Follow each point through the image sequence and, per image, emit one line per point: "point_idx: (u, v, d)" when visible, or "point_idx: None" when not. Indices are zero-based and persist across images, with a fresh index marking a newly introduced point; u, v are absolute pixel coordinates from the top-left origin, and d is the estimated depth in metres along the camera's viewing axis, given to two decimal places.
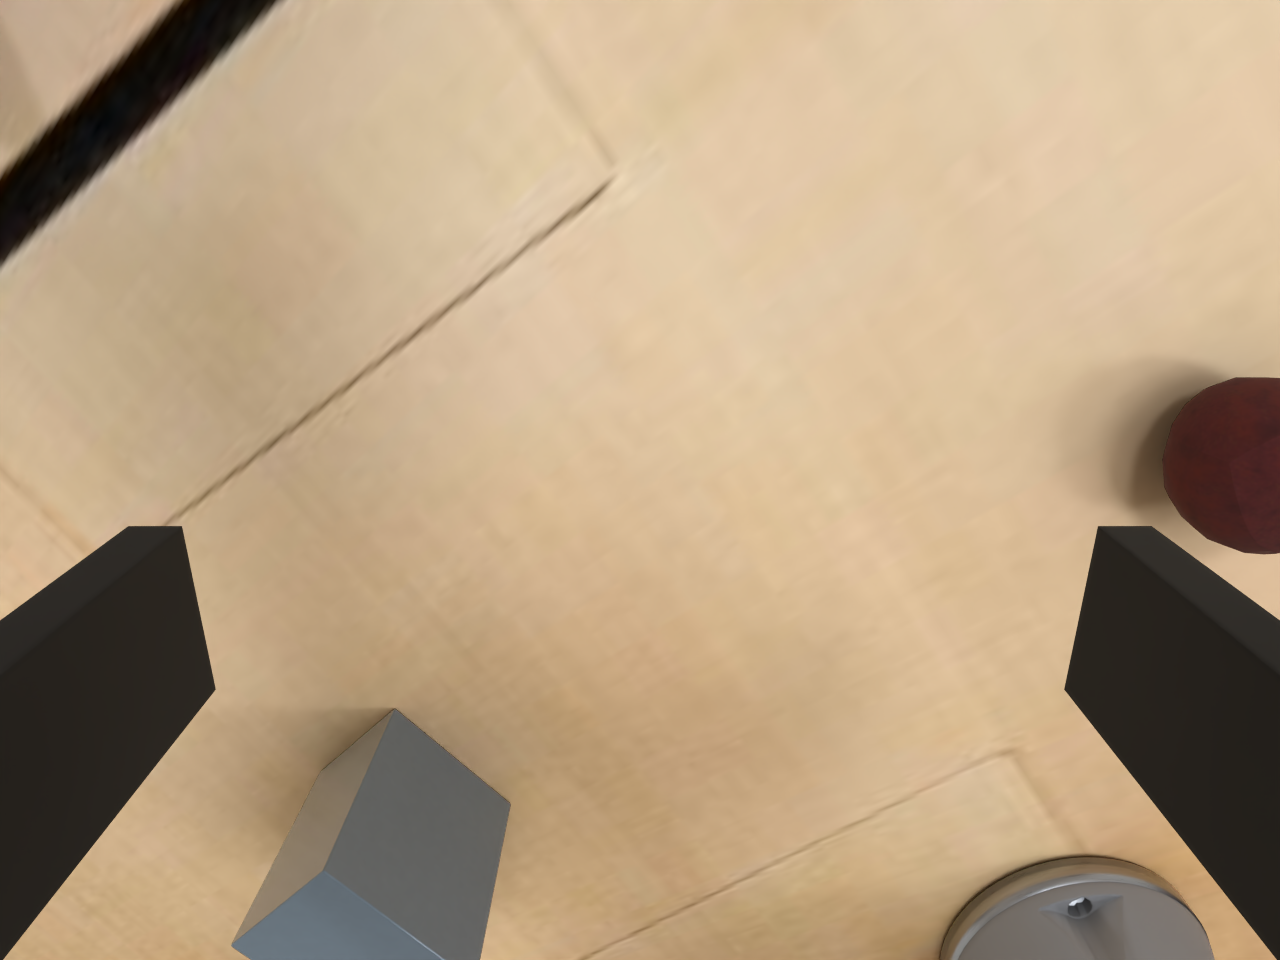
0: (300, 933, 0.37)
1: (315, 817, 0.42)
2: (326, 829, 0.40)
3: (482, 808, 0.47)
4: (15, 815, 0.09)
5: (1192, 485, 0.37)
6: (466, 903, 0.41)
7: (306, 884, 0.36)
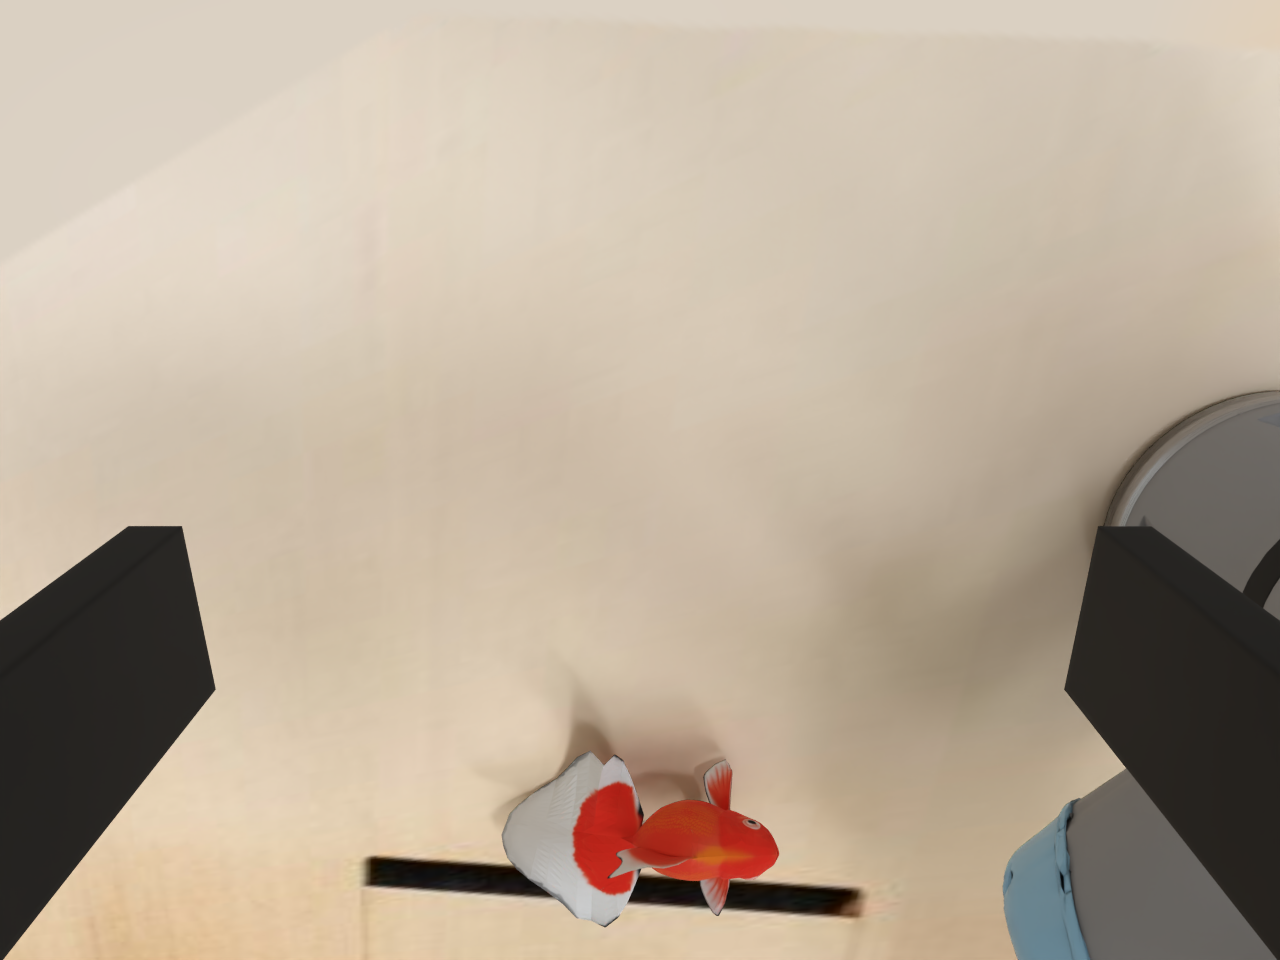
0: None
1: None
2: None
3: None
4: (16, 814, 0.09)
5: None
6: None
7: None
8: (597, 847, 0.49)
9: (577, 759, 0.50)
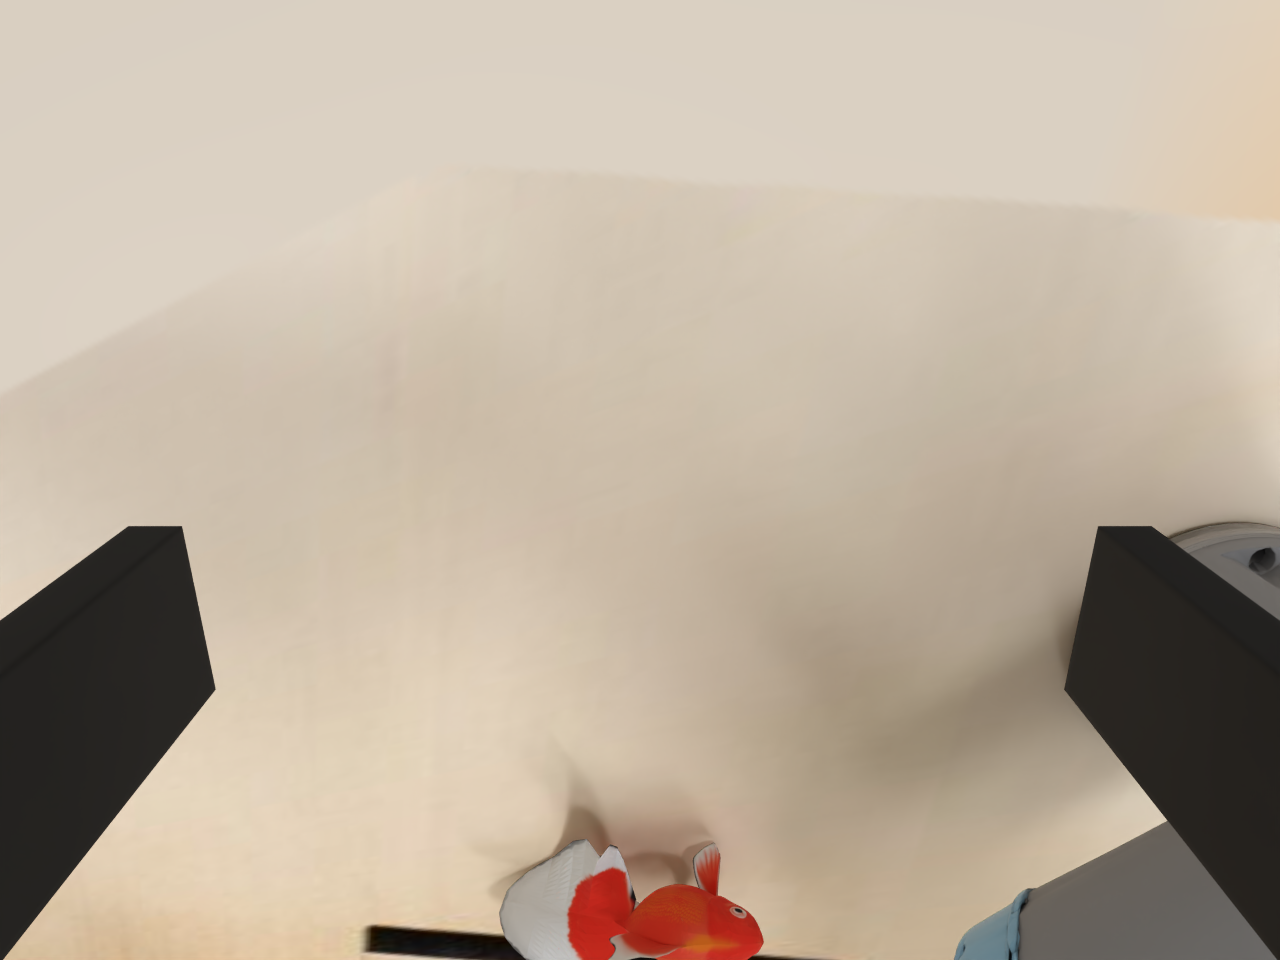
0: None
1: None
2: None
3: None
4: (17, 813, 0.09)
5: None
6: None
7: None
8: (590, 929, 0.52)
9: (573, 843, 0.53)
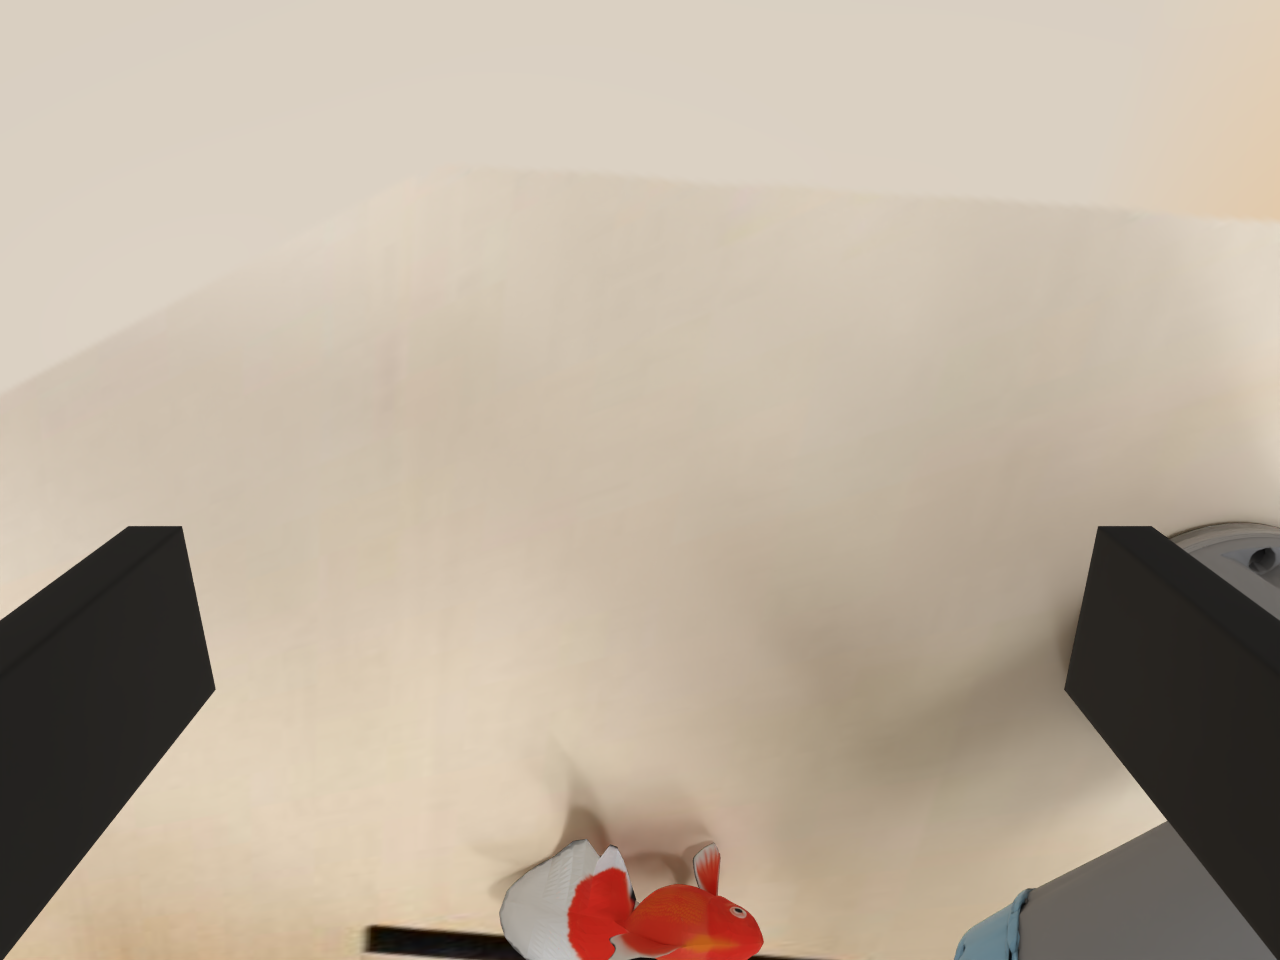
0: None
1: None
2: None
3: None
4: (17, 813, 0.09)
5: None
6: None
7: None
8: (590, 929, 0.52)
9: (573, 843, 0.53)
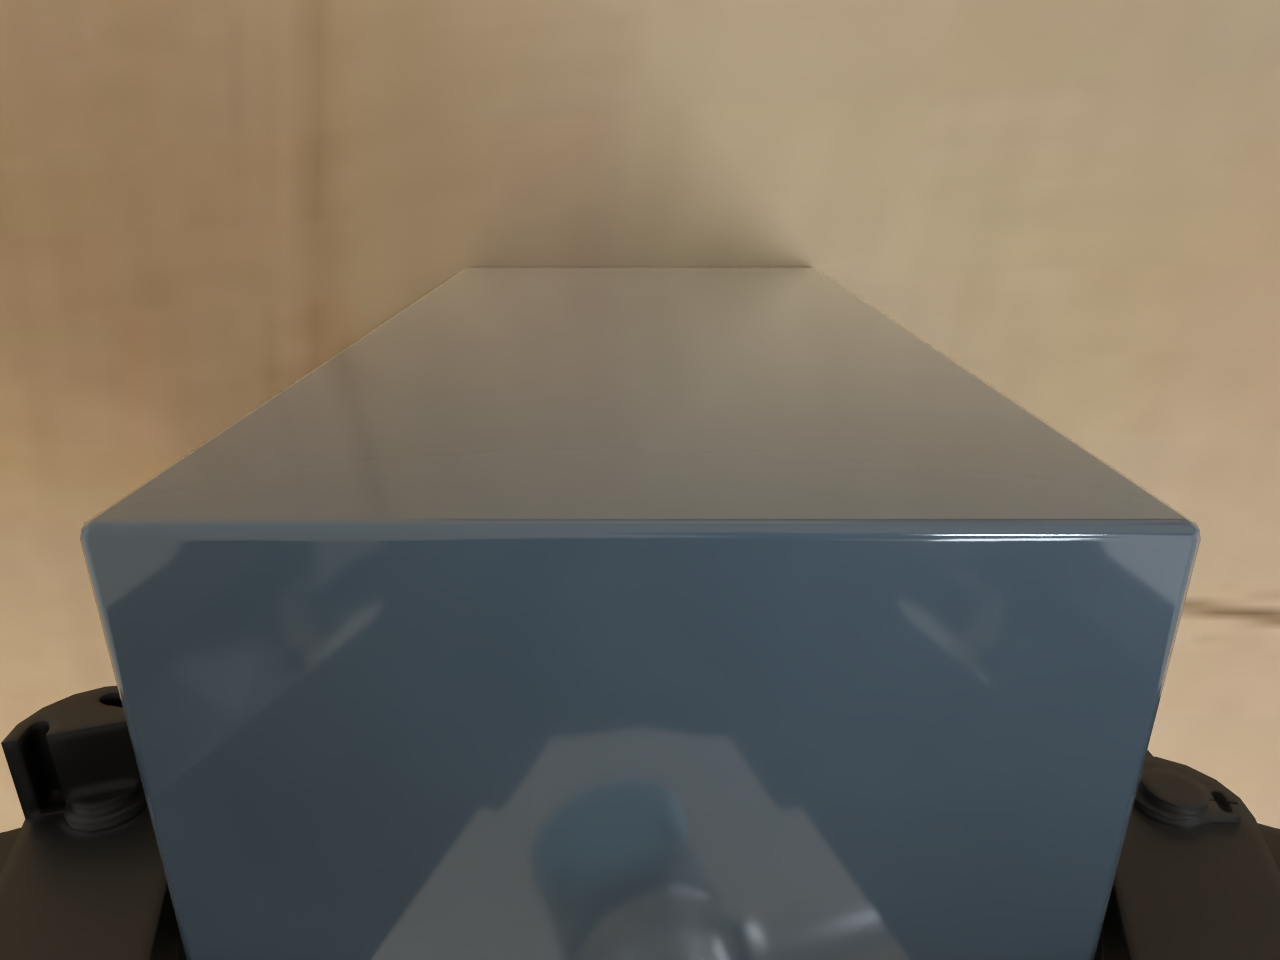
0: (599, 763, 0.05)
1: (596, 325, 0.10)
2: (800, 370, 0.08)
3: None
4: None
5: None
6: None
7: (996, 523, 0.05)
8: None
9: None
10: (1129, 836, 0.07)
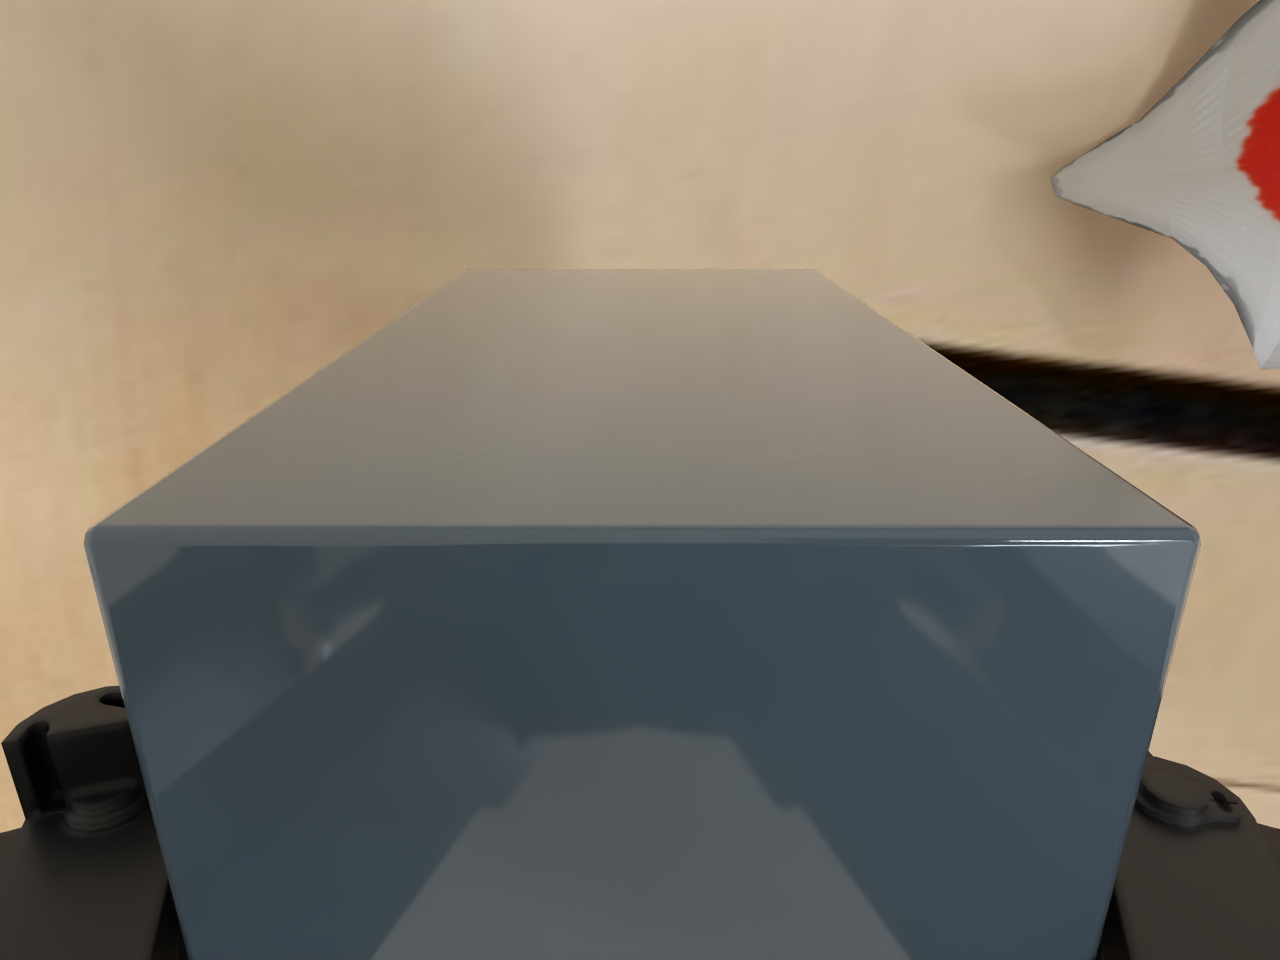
0: (601, 767, 0.05)
1: (597, 328, 0.10)
2: (801, 374, 0.08)
3: None
4: None
5: None
6: None
7: (997, 528, 0.05)
8: None
9: (1240, 23, 0.23)
10: (1128, 836, 0.07)
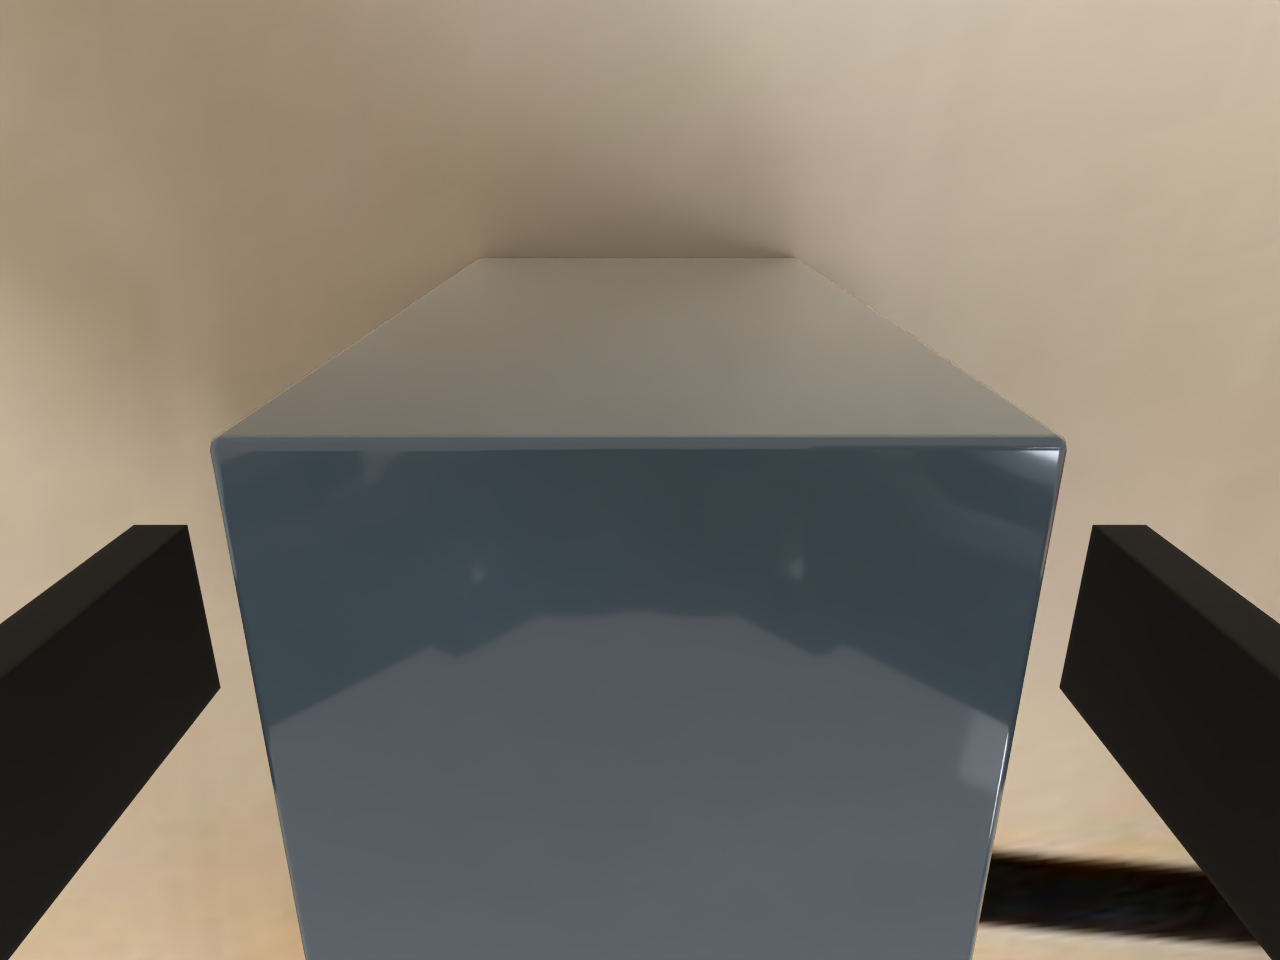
0: (606, 632, 0.07)
1: (600, 304, 0.12)
2: (773, 338, 0.10)
3: None
4: (24, 811, 0.09)
5: None
6: None
7: (910, 437, 0.06)
8: None
9: None
10: None
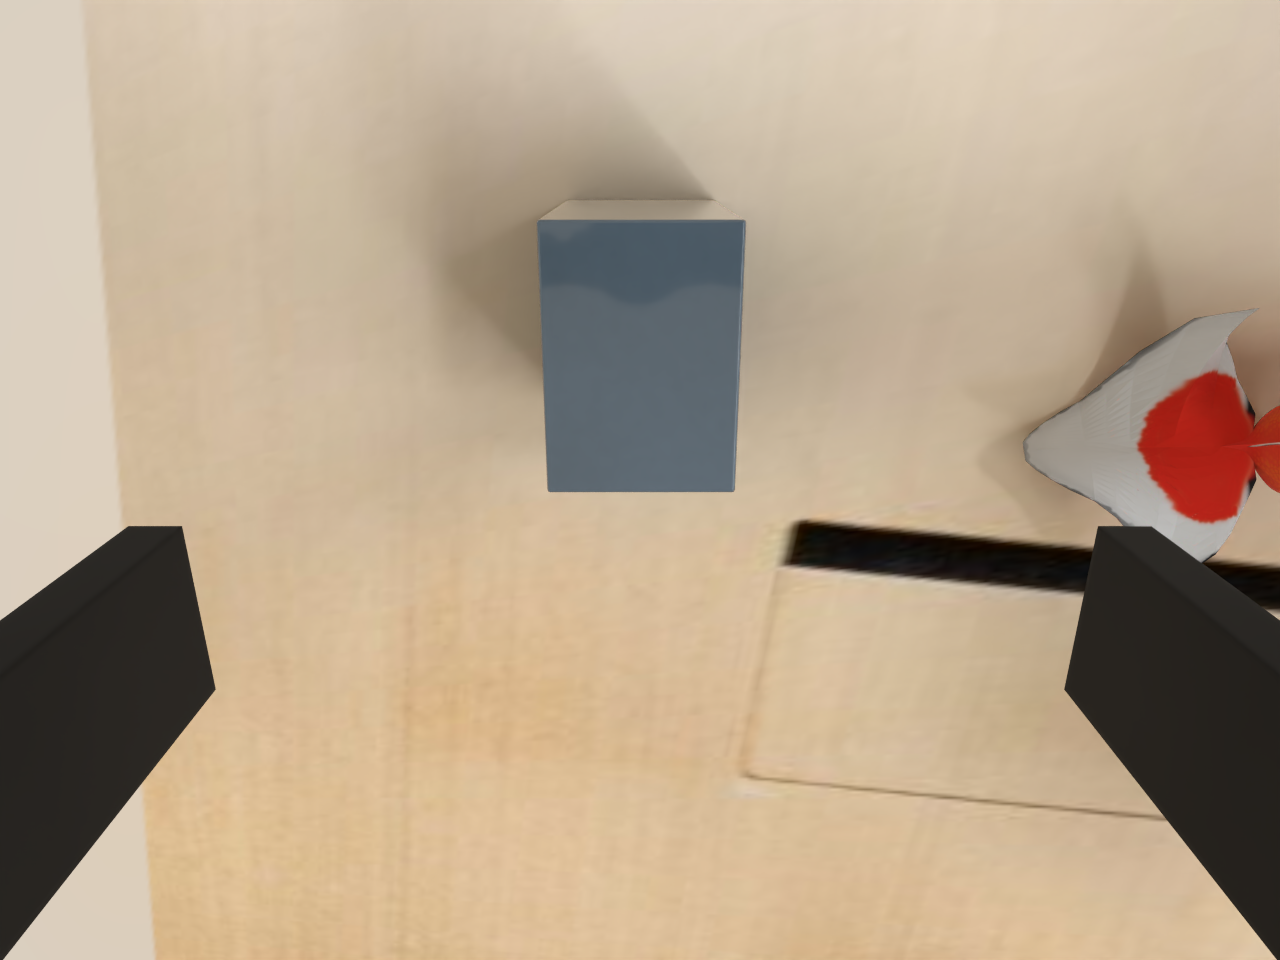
0: (633, 274, 0.26)
1: (626, 207, 0.31)
2: (685, 211, 0.29)
3: None
4: (15, 815, 0.09)
5: None
6: None
7: (707, 220, 0.26)
8: (1183, 462, 0.36)
9: (1139, 355, 0.37)
10: None
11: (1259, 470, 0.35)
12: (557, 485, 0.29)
